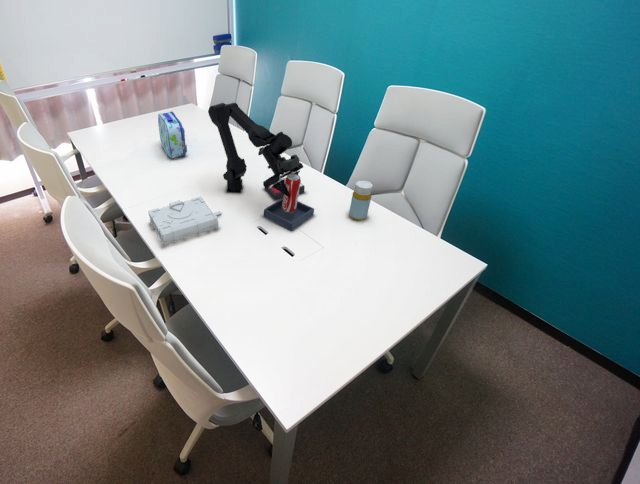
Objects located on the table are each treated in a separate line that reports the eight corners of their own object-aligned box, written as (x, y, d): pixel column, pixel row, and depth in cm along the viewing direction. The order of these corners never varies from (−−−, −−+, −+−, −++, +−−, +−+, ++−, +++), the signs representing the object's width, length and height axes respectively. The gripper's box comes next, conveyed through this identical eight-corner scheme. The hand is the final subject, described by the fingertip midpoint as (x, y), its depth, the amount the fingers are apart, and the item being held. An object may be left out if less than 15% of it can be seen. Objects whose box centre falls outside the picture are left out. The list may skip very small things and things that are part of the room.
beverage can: (278, 208, 140) (280, 176, 131) (290, 202, 143) (293, 171, 134) (288, 215, 136) (291, 182, 127) (300, 209, 139) (304, 177, 130)
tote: (263, 216, 142) (263, 209, 140) (285, 202, 151) (286, 195, 149) (291, 231, 134) (292, 223, 132) (313, 215, 142) (314, 208, 140)
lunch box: (189, 158, 190) (185, 121, 178) (170, 162, 186) (164, 124, 174) (177, 141, 209) (172, 107, 197) (159, 145, 206) (154, 110, 194)
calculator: (264, 182, 158) (292, 174, 162) (264, 190, 161) (292, 182, 165) (275, 193, 150) (305, 184, 154) (275, 201, 152) (304, 192, 157)
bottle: (366, 213, 143) (374, 181, 134) (366, 222, 137) (373, 190, 129) (349, 210, 145) (355, 178, 136) (347, 219, 139) (354, 187, 131)
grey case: (231, 227, 137) (230, 211, 132) (162, 249, 126) (159, 232, 122) (211, 204, 151) (210, 189, 147) (148, 222, 141) (145, 206, 136)
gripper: (270, 158, 122) (292, 196, 122) (301, 142, 133) (322, 177, 133) (253, 170, 132) (274, 206, 132) (284, 155, 142) (303, 188, 142)
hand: (294, 194), depth 134 cm, fingers closed on beverage can, 5 cm apart
